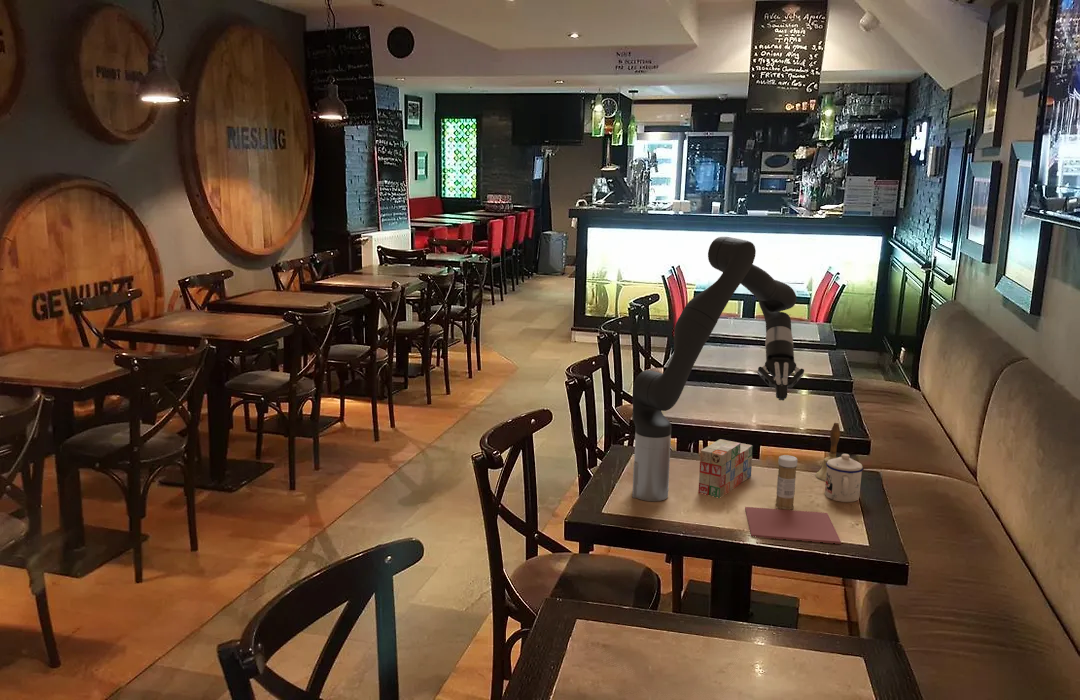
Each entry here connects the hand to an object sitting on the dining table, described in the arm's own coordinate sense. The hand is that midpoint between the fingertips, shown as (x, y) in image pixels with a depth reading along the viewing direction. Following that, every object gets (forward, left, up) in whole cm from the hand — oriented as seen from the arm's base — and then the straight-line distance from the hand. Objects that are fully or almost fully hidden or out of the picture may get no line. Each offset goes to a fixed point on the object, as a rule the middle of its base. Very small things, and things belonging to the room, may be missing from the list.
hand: (781, 398), depth 219 cm
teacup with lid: (+16, -9, -24) cm, 30 cm away
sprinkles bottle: (0, -18, -24) cm, 30 cm away
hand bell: (+16, +7, -24) cm, 30 cm away
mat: (0, -30, -24) cm, 38 cm away
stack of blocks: (-14, -4, -24) cm, 28 cm away
